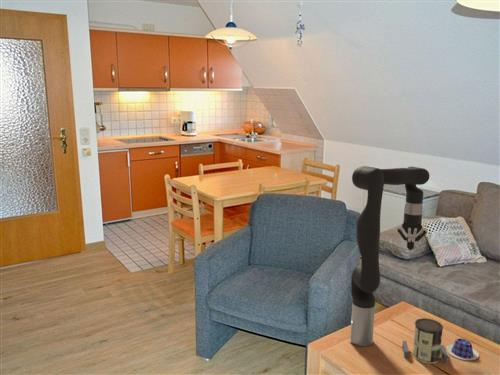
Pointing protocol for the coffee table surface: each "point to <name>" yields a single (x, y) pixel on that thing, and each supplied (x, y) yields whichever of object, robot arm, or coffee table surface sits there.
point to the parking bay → (442, 352)
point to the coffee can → (427, 340)
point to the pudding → (462, 349)
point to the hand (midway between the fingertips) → (410, 249)
